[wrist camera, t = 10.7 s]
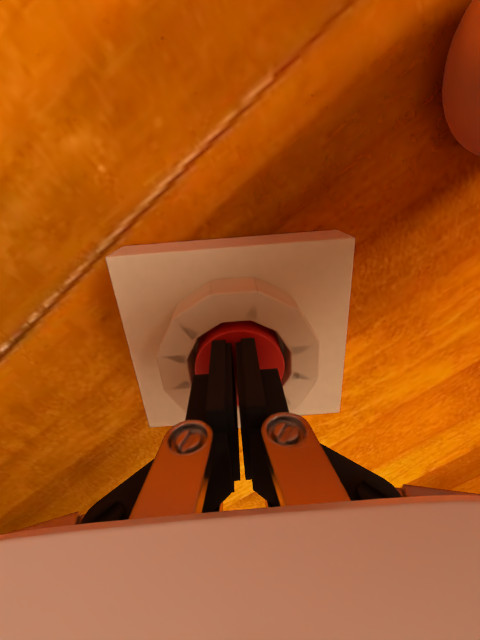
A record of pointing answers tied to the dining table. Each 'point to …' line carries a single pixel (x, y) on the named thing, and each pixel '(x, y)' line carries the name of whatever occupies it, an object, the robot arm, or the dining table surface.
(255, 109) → the dining table surface
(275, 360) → the stop button
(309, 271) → the control block
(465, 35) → the silver metal bottle
